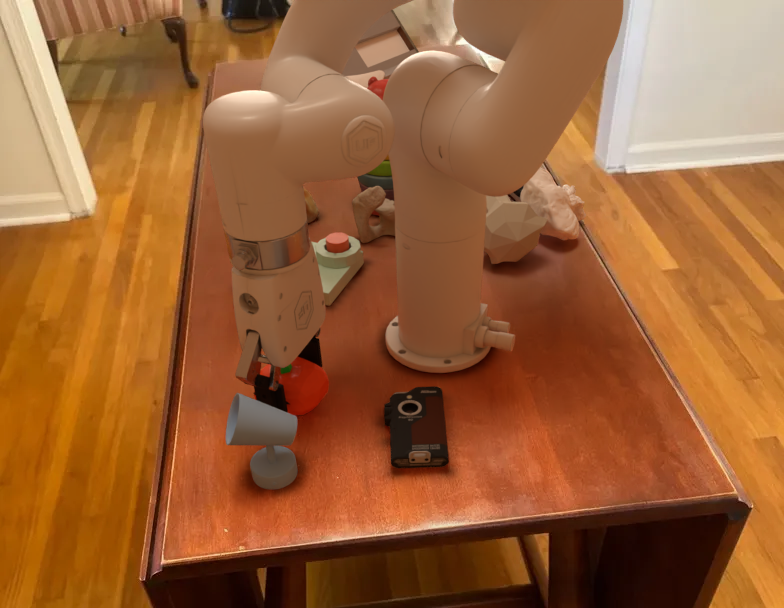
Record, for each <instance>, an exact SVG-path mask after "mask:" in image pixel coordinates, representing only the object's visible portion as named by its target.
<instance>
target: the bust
mask: <svg viewBox="0 0 784 608" xmlns="http://www.w3.org/2000/svg"><path fill="white" fill-rule="evenodd" d="M576 190H577V189H576V186H575V185H571V186H570V185H569V184H563V185H562V186H561V185H557V184H556V182H555V181H554V177H553V176H552V174H551V173H550V172H549V171H548V170H547V169H545V168H543V167H542V166H541V167H540V168H539V169H538V171H537V172H536V173H535V174H534V176H533V177H532V178H531V179H530V180H529V181H528V182H527V183H526V184H525V185H524V187H523V190H522V191H521V195H520V199H521V202H525V203H527V204H529V205H530V207H531V208H532V209H533V210H534V212H535V213H536V214H537V215H538V216H540V217H543V218H546V219H548V220H547V222H546V224H545V225H544V227H543V229H542V230H541V232H540V235H542V236H550V237H554V238H556V239H560V240H562V241H567V240H576V239H577V238H578V237H579V235H580V221H583V220H585V219H586V218H587V214H586V212H585V209H584V206H585V201H583V199H582V198H581V197H580V196H578V195H576V192H577V191H576Z"/></svg>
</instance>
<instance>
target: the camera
mask: <svg viewBox="0 0 784 608" xmlns="http://www.w3.org/2000/svg"><path fill="white" fill-rule="evenodd" d="M443 394H444V393H443V389H442V388H441V387H440V386H436V385H435V386H434V385H433V386H416V387H413V388H412V389H411V390H408V391H396V392H394V393H393V394H392V395H390V397H389V401H388V402H386V403H384V407H383V412H384V413H383V417H384V418H383V419H384V420H383V421H384V426H385V427H388V428H389V440H390V442H389V446H390V447H389V448H390V465H391V467H393V468H395V469H425V468H443V467H444V468H445V467H446V466H448V464H449V463H450V457H449V448H448V447H449V446H448V436H447V427H446V426H447V425H446V417H445V405H444V395H443Z"/></svg>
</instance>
